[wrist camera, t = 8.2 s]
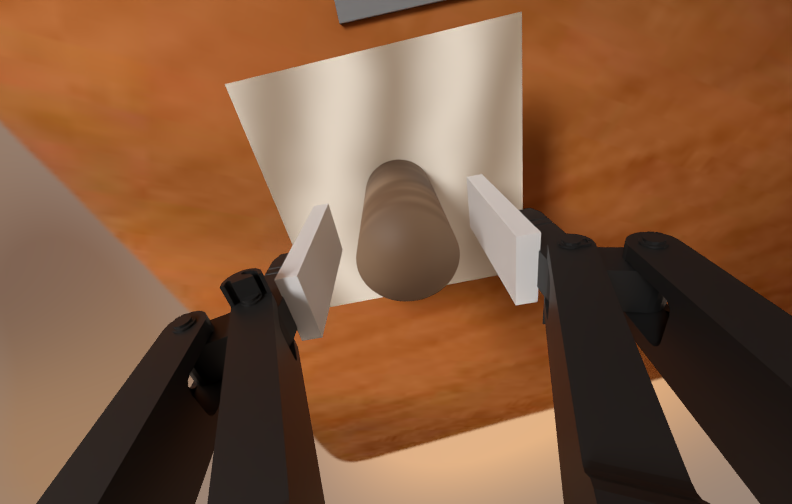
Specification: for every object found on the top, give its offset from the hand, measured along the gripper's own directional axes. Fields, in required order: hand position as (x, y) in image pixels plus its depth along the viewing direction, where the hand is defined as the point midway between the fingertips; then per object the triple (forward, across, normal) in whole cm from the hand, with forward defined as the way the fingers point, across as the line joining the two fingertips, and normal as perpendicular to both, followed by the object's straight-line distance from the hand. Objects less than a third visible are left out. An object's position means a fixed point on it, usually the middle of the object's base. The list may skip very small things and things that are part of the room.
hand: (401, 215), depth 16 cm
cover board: (+5, 0, 0) cm, 5 cm away
